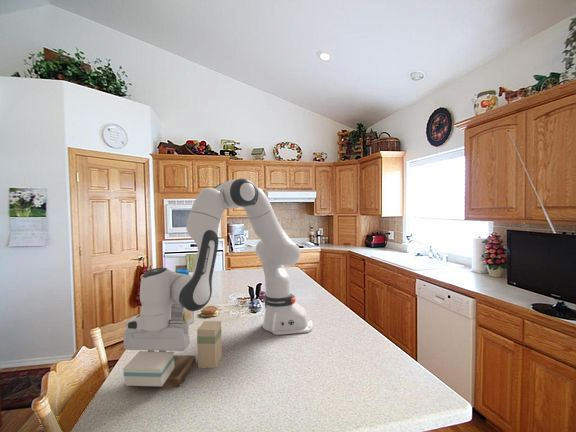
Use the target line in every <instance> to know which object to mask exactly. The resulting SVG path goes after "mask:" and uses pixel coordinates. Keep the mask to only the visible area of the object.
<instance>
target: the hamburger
mask: <svg viewBox="0 0 576 432" xmlns="http://www.w3.org/2000/svg"><path fill="white" fill-rule="evenodd" d="M219 311H223V310H222V309H221V308H220V309H219V308H218V307H217V306H215V305H206V306H204V307H203V308H202V309H200V316H201V317H205V318H211V317H215V316H216V317H217V316H218V315H219Z"/></svg>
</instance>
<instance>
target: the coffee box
mask: <svg viewBox="0 0 576 432" xmlns="http://www.w3.org/2000/svg"><path fill="white" fill-rule="evenodd" d="M171 320H184V322H186V323H187V324H188V326H190V325H191V324H192V323H193V322H195V311H189V310H187V309H186V308H184V307H183V306H182V305H179V304H177V303H175V304H172V306H171Z"/></svg>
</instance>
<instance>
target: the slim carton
mask: <svg viewBox="0 0 576 432" xmlns="http://www.w3.org/2000/svg"><path fill="white" fill-rule="evenodd" d="M196 334H197V335H196V342H197V343H196V344H197V367H198V369H217V367H218V365H217V364H219V363H220V361H221V359H222V358H221V357H223V353H222V352H223V351H222V349H223V348H222V345H223V343H222V321H221V320H204V321H203V322H202V323H201V324H200V325H199V326H198V327H197V329H196ZM216 366H217V367H216ZM203 367H205V368H203ZM207 367H208V368H207ZM209 367H211V368H209Z"/></svg>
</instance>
